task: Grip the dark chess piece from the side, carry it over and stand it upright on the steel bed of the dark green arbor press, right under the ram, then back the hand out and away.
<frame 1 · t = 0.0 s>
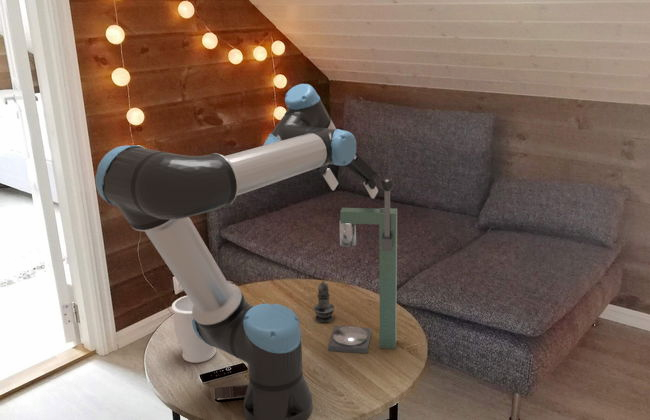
hand: (354, 190, 159), 36 cm above the table, tool tilted 35°, fingers open, 13 cm apart
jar: (199, 355, 149), on the table
arbor press: (350, 341, 152), on the table
dark chess piece: (324, 319, 164), on the table
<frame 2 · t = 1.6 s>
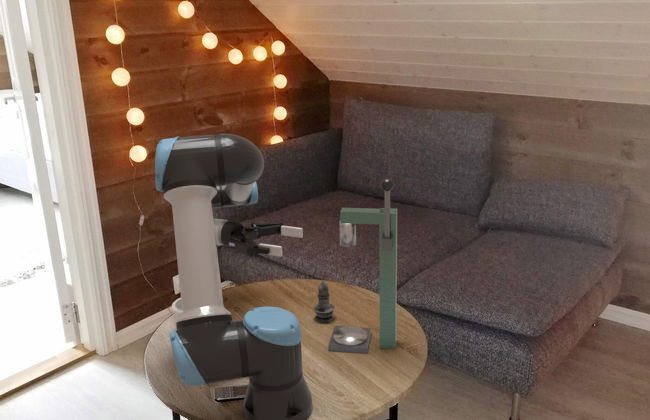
hand: (292, 241, 160), 23 cm above the table, tool horizontal, fingers open, 13 cm apart
nothing on the table moved.
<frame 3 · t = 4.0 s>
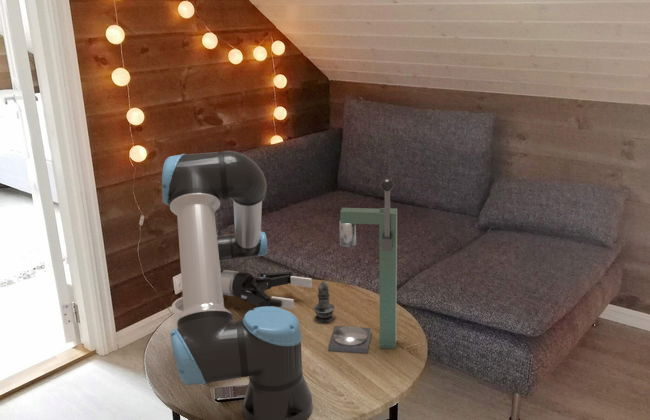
hand: (302, 293, 165), 7 cm above the table, tool horizontal, fingers open, 13 cm apart
nothing on the table moved.
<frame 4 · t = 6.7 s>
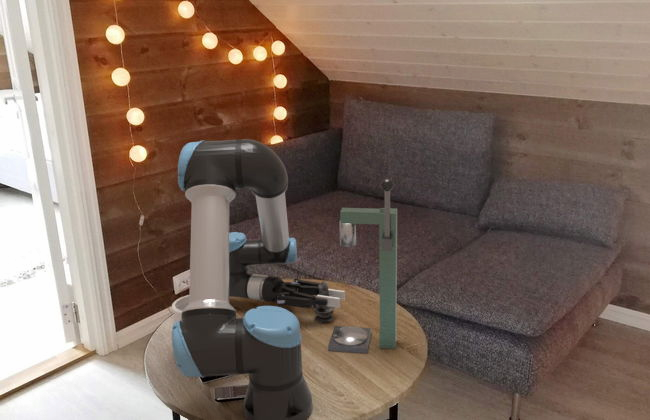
hand: (341, 299, 160), 7 cm above the table, tool horizontal, fingers closed on dark chess piece, 4 cm apart
dark chess piece: (324, 319, 164), on the table, touching gripper
everything else where it was.
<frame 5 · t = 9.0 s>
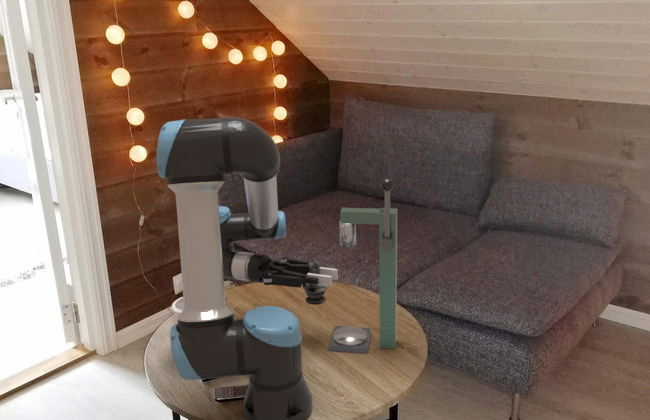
hand: (334, 278, 146), 19 cm above the table, tool horizontal, fingers closed on dark chess piece, 4 cm apart
dark chess piece: (315, 300, 150), point 12 cm above the table, touching gripper
everything else where it was.
when the fingers open (10 cm above the table, at t = 11.7 s): dark chess piece drops 1 cm, resting on arbor press.
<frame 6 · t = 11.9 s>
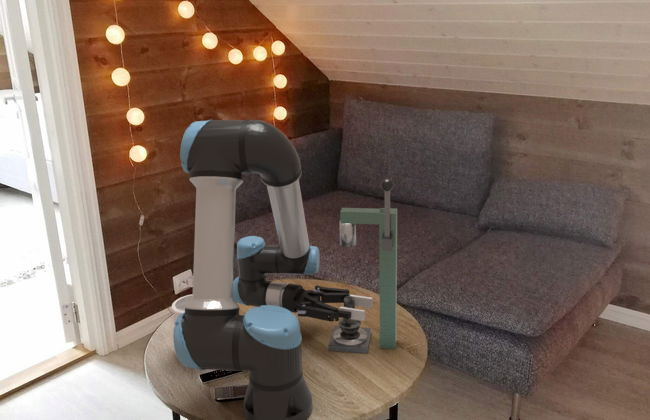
hand: (368, 309, 147), 10 cm above the table, tool horizontal, fingers open, 6 cm apart
dark chess piece: (350, 335, 152), point 2 cm above the table, touching arbor press
everything else where it was.
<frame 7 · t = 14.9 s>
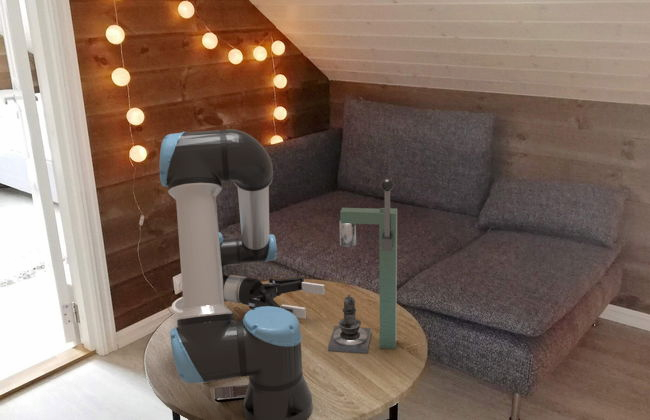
hand: (315, 301, 152), 11 cm above the table, tool horizontal, fingers open, 13 cm apart
nothing on the table moved.
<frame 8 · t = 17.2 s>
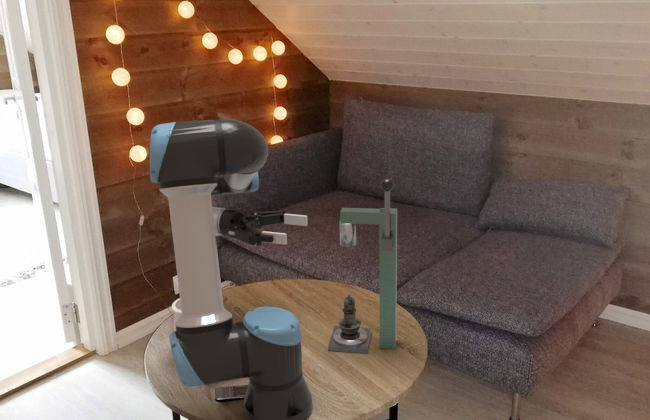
hand: (297, 229, 148), 30 cm above the table, tool horizontal, fingers open, 13 cm apart
nothing on the table moved.
at the end: dark chess piece 0.0 cm off-centre on the arbor press, point 1.8 cm above the arbor press's base; dark chess piece tilted 0°; the gripper is holding nothing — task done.
